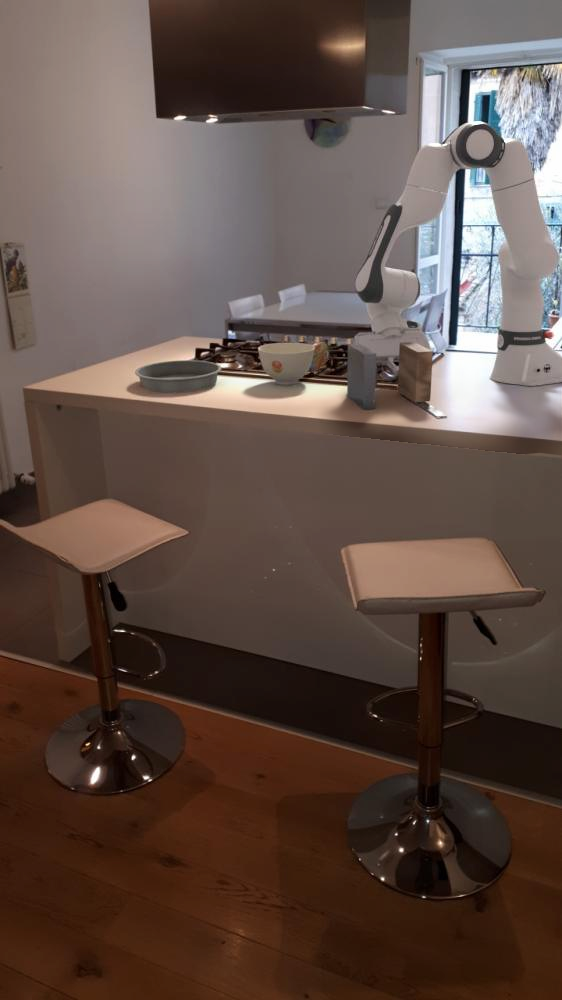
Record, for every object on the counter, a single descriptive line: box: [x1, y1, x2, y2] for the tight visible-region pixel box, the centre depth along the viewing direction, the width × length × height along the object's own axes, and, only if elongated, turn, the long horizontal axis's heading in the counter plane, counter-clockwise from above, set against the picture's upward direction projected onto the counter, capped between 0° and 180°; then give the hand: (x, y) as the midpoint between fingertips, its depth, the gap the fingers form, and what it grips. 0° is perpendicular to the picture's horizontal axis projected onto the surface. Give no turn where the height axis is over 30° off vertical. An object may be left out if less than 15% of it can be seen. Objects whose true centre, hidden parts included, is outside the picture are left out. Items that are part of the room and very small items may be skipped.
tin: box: [308, 341, 331, 373], centre depth 243 cm, size 15×3×8 cm, turn 155°
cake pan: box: [134, 359, 222, 393], centre depth 232 cm, size 25×25×4 cm
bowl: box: [257, 342, 315, 386], centre depth 229 cm, size 16×16×10 cm
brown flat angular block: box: [397, 342, 434, 403], centre depth 209 cm, size 4×13×13 cm, turn 12°
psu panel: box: [346, 343, 448, 418], centre depth 203 cm, size 17×27×14 cm, turn 12°
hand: (399, 373), depth 220 cm, fingers closed
